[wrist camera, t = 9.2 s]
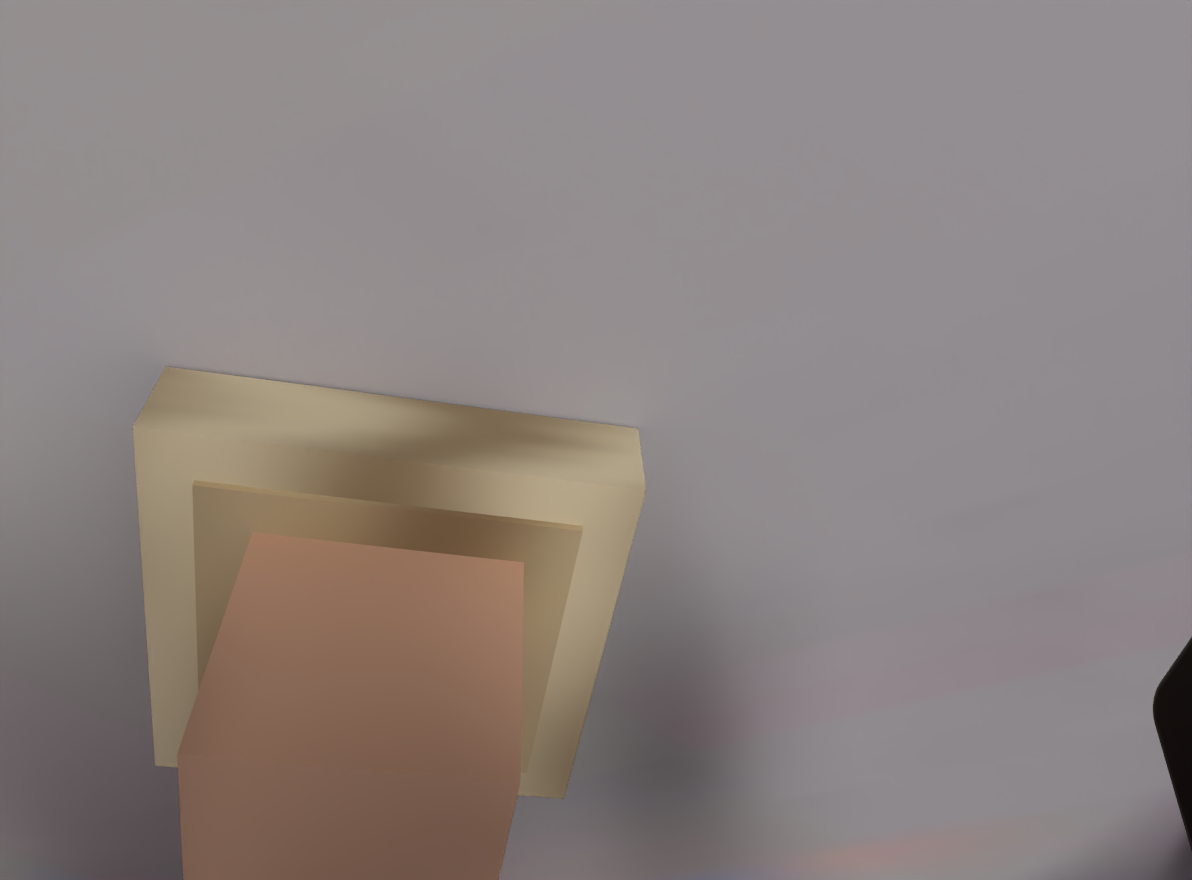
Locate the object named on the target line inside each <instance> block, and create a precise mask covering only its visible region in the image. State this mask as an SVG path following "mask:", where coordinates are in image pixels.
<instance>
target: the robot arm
mask: <svg viewBox="0 0 1192 880" xmlns="http://www.w3.org/2000/svg"><path fill="white" fill-rule="evenodd" d="M1153 717H1154V722H1155V726H1156V729H1157V733H1158V736H1159V740H1160V743H1161V746H1162V750H1163V753H1164V757H1165V760H1166V764H1167V767H1168V771H1169V774H1170V778H1171V781H1172V785H1173V788H1174V791H1175V795H1176V798H1177V802H1178V805H1179V809H1180V812H1181V816H1182V819H1183V823H1184V826H1185V830H1186V833H1187V836H1188V840H1189V843H1190V847H1191V850H1192V637H1191V639H1190V640H1189V642H1188V643H1187V645H1186V646H1185V647H1184V649H1183V650H1182V652H1181V653H1180V655H1179V656H1178V658H1177V659H1176V660H1175V662H1174V663H1173V665H1172V666H1171V668H1170V669H1169V671H1168V672H1167V674H1166V675H1165V676H1164V678H1163V679H1162V681H1161V682H1160V684H1159V686H1158V687H1157V690H1156V693H1155V696H1154V702H1153Z"/></svg>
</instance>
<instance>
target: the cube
mask: <svg viewBox="0 0 1192 880" xmlns="http://www.w3.org/2000/svg"><path fill="white" fill-rule="evenodd" d="M523 594H524V562H515V561H506V560H497V559H488V558H479V557H470V556H461V555H452V554H443V553H434V552H425V551H415V550H406V549H397V548H388V547H379V546H370V545H361V544H352V543H343V542H334V541H325V540H316V539H307V538H298V537H289V536H280V535H271V534H262V533H253V532H252V535H251V538H250V541H249V543H248V546H247V549H246V552H245V555H244V558H243V561H242V564H241V567H240V570H239V573H238V576H237V579H236V582H235V585H234V588H233V591H232V594H231V597H230V600H229V602H228V605H227V608H226V611H225V614H224V617H223V620H222V623H221V626H220V629H219V632H218V635H217V638H216V641H215V644H214V647H213V650H212V653H211V656H210V659H209V661H208V664H207V667H206V670H205V673H204V676H203V679H202V682H201V685H200V688H199V691H198V694H197V697H196V700H195V703H194V706H193V709H192V712H191V715H190V718H189V720H188V723H187V726H186V729H185V732H184V735H183V738H182V741H181V744H180V747H179V750H178V753H177V763H178V783H179V804H180V824H181V844H182V864H183V880H498V879H499V874H500V870H501V866H502V861H503V857H504V852H505V848H506V843H507V839H508V835H509V830H510V826H511V821H512V817H513V813H514V808H515V804H516V799H517V795H518V791H519V786H520V774H521V714H522V654H523Z"/></svg>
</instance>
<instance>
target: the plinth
mask: <svg viewBox="0 0 1192 880" xmlns="http://www.w3.org/2000/svg"><path fill="white" fill-rule="evenodd" d="M133 439H134V454H135V469H136V484H137V499H138V514H139V529H140V544H141V560H142V575H143V590H144V605H145V620H146V635H147V650H148V665H149V680H150V695H151V711H152V726H153V741H154V756H155V766H164V767H177V768H178V763H177V753H178V750H179V747H180V744H181V741H182V738H183V735H184V732H185V729H186V726H187V723H188V720H189V718H190V715H191V712H192V709H193V706H194V703H195V700H196V697H197V694H198V691H199V688H200V685H201V682H202V679H203V676H204V673H205V670H206V667H207V664H208V661H209V659H210V656H211V653H212V650H213V647H214V644H215V641H216V638H217V635H218V632H219V629H220V626H221V623H222V620H223V617H224V614H225V611H226V608H227V605H228V602H229V600H230V597H231V594H232V591H233V588H234V585H235V582H236V579H237V576H238V573H239V570H240V567H241V564H242V561H243V558H244V555H245V552H246V549H247V546H248V543H249V541H250V538H251V535H252V532H253V533H262V534H271V535H280V536H289V537H298V538H307V539H316V540H325V541H334V542H343V543H352V544H361V545H370V546H379V547H388V548H397V549H406V550H415V551H425V552H434V553H443V554H452V555H461V556H470V557H479V558H488V559H497V560H506V561H515V562H524V594H523V654H522V714H521V774H520V786H519V791H518V795H522V796H534V797H546V798H559V799H564V796H565V792H566V788H567V785H568V781H569V777H570V773H571V770H572V766H573V762H574V758H575V755H576V751H577V747H578V743H579V740H580V736H581V732H582V728H583V725H584V721H585V717H586V713H587V710H588V706H589V702H590V699H591V695H592V691H593V687H594V684H595V680H596V676H597V672H598V669H599V665H600V661H601V657H602V654H603V650H604V646H605V642H606V639H607V635H608V631H609V627H610V624H611V620H612V616H613V612H614V609H615V605H616V601H617V597H618V594H619V590H620V586H621V582H622V579H623V575H624V571H625V567H626V564H627V560H628V556H629V552H630V549H631V545H632V541H633V537H634V534H635V530H636V526H637V523H638V519H639V515H640V511H641V508H642V504H643V500H644V496H645V493H646V485H645V478H644V470H643V463H642V456H641V448H640V441H639V433H638V429H637V428H629V427H622V426H614V425H607V424H599V423H591V422H584V421H576V420H568V419H561V418H553V417H546V416H538V415H530V414H523V413H515V412H507V411H500V410H492V409H485V408H477V407H469V406H462V405H454V404H447V403H439V402H431V401H424V400H416V399H408V398H401V397H393V396H386V395H378V394H370V393H363V392H355V391H347V390H340V389H332V388H325V387H317V386H309V385H302V384H294V383H286V382H279V381H271V380H264V379H256V378H248V377H241V376H233V375H225V374H218V373H210V372H203V371H195V370H187V369H180V368H172V367H165V369H164V371H163V373H162V375H161V376H160V378H159V380H158V382H157V384H156V385H155V387H154V389H153V391H152V393H151V395H150V396H149V398H148V400H147V402H146V404H145V406H144V407H143V409H142V411H141V413H140V415H139V416H138V418H137V420H136V422H135V424H134V426H133Z"/></svg>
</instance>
